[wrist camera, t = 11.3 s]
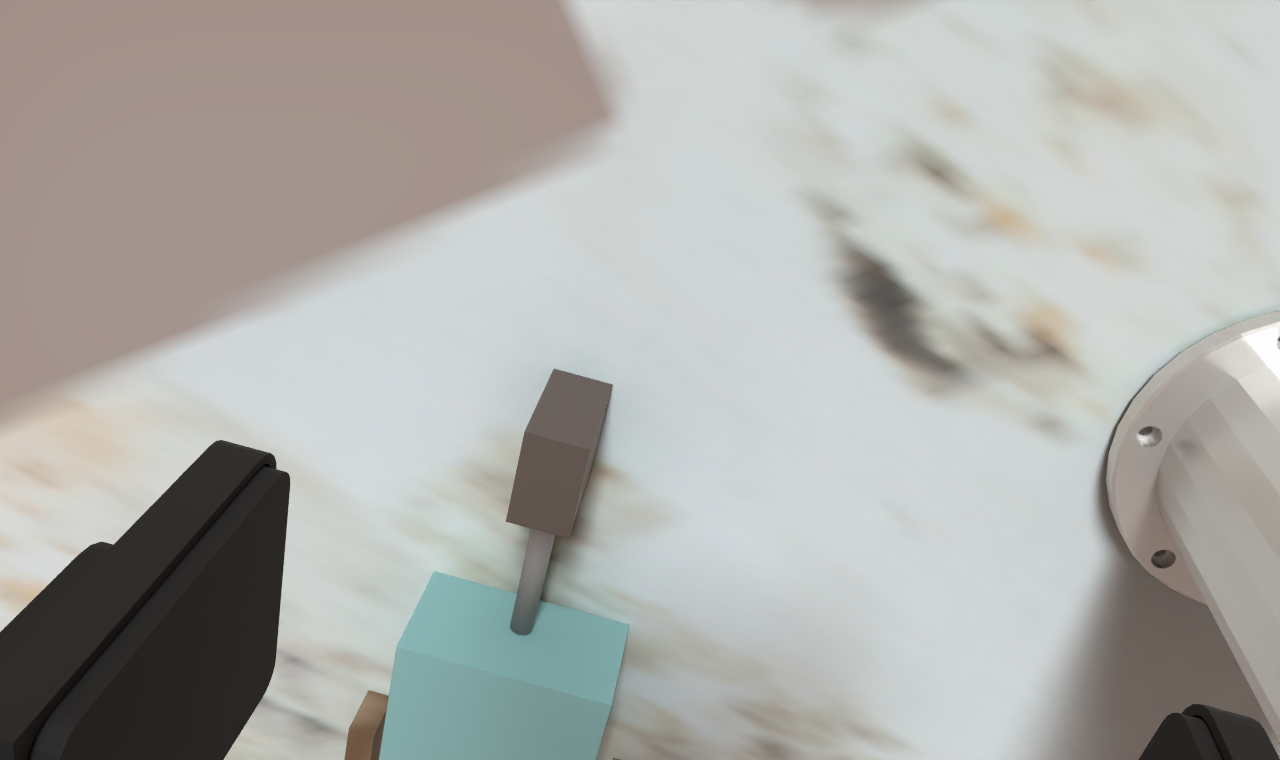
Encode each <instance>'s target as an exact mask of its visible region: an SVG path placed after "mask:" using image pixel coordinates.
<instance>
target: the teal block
mask: <svg viewBox="0 0 1280 760" xmlns="http://www.w3.org/2000/svg"><path fill="white" fill-rule="evenodd" d="M612 386H613V385H612V384H608V383H604V382H601V381H597V380H593V379H590V378H586V377H582V376H579V375H575V374H571V373H567V372H564V371H560V370H556V369H554V370H553V372H552V374H551V376H550V378H549V380H548V383H547V385H546V387H545V389H544V391H543V393H542V396H541V398H540V400H539V402H538V404H537V406H536V408H535V411H534V413H533V415H532V417H531V419H530V421H529V424H528V426H527V428H526V430H525V432H524V437H523V442H522V447H521V452H520V456H519V461H518V466H517V471H516V476H515V480H514V485H513V490H512V495H511V500H510V505H509V509H508V514H507V519H506V522H509V523H513V524H517V525H520V526H524V527H528V528H531V533H530V537H529V542H528V546H527V551H526V555H525V560H524V564H523V569H522V573H521V578H520V582H519V587H518V591H517V594H516V593H512V592H509V591H505V590H501V589H498V588H494V587H490V586H487V585H483V584H479V583H476V582H472V581H469V580H465V579H461V578H458V577H454V576H450V575H447V574H443V573H439V572H436V571H434V573H433V575H432V577H431V579H430V581H429V583H428V585H427V587H426V589H425V591H424V593H423V595H422V597H421V599H420V601H419V603H418V605H417V607H416V609H415V611H414V613H413V615H412V617H411V619H410V621H409V623H408V625H407V627H406V629H405V631H404V633H403V635H402V637H401V639H400V641H399V643H398V645H397V648H396V654H395V661H394V667H393V673H392V680H391V686H390V692H389V699H388V705H387V711H386V718H385V724H384V730H383V737H382V743H381V750H380V756H379V760H596V757H597V753H598V750H599V747H600V743H601V740H602V737H603V733H604V730H605V727H606V723H607V720H608V717H609V713H610V710H611V707H612V702H613V698H614V693H615V689H616V684H617V679H618V675H619V670H620V666H621V661H622V657H623V652H624V648H625V643H626V638H627V634H628V629H629V624H625V623H622V622H618V621H614V620H611V619H607V618H603V617H600V616H596V615H592V614H589V613H585V612H581V611H578V610H574V609H571V608H567V607H563V606H560V605H556V604H552V603H549V602H545V601H541V600H540V597H541V593H542V589H543V585H544V581H545V576H546V572H547V568H548V564H549V560H550V555H551V551H552V547H553V543H554V539H555V535H557V536H561V537H564V538H568V539H569V536H570V533H571V530H572V527H573V523H574V520H575V517H576V514H577V511H578V508H579V505H580V502H581V499H582V496H583V493H584V490H585V487H586V484H587V481H588V478H589V475H590V472H591V469H592V466H593V462H594V458H595V454H596V450H597V446H598V442H599V438H600V434H601V430H602V426H603V422H604V418H605V414H606V410H607V406H608V402H609V398H610V394H611V390H612Z"/></svg>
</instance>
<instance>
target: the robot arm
mask: <svg viewBox="0 0 1280 760" xmlns="http://www.w3.org/2000/svg"><path fill="white" fill-rule="evenodd" d="M1145 427H1147V428H1146V429H1143V428H1145ZM1141 429H1143V430H1141ZM1106 485H1107V492H1108V500H1109V507H1110V509H1111V512H1112V514H1113V517H1114V519H1115V522H1116V524H1117V527H1118V530H1119V532H1120V534H1121V535H1122V537H1123V539H1124V541H1125V543H1126V544H1127V546H1128V548H1129V550H1130V552H1131V554H1132V555H1133V556H1134V557H1135V558H1136V559H1137V561H1138V562H1139V563H1140V564H1141V565H1142V566H1143V568H1144V569H1145V570H1146V571H1147V572H1148V573H1150V574H1151V575H1152V576H1154V577H1155V578H1156V579H1158V580H1159V581H1161V582H1162V583H1163V584H1165V585H1166V586H1168V587H1169V588H1170V589H1172V590H1174V591H1176V592H1178V593H1180V594H1182V595H1184V596H1187V597H1189V598H1191V599H1193V600H1195V601H1197V602H1200V603H1203V604H1207V606H1208V608H1209V610H1210V612H1211V614H1212V616H1213V617H1214V619H1215V621H1216V623H1217V625H1218V627H1219V629H1220V631H1221V633H1222V635H1223V636H1224V638H1225V640H1226V642H1227V644H1228V646H1229V648H1230V650H1231V652H1232V654H1233V655H1234V657H1235V659H1236V661H1237V663H1238V665H1239V667H1240V669H1241V671H1242V673H1243V674H1244V676H1245V678H1246V680H1247V682H1248V684H1249V686H1250V688H1251V690H1252V692H1253V693H1254V695H1255V697H1256V699H1257V701H1258V703H1259V705H1260V707H1261V709H1262V711H1263V713H1264V714H1265V716H1266V718H1267V720H1268V722H1269V724H1270V726H1271V728H1272V730H1273V732H1274V733H1275V735H1276V737H1277V739H1278V741H1279V743H1280V311H1277V312H1273V313H1269V314H1264V315H1260V316H1256V317H1252V318H1249V319H1246V320H1244V321H1241V322H1239V323H1236V324H1234V325H1232V326H1229V327H1227V328H1224V329H1222V330H1219V331H1217V332H1214V333H1213V334H1211V335H1209V336H1208V337H1206V338H1204V339H1203V340H1201V341H1199V342H1197V343H1196V344H1194V345H1192V346H1191V347H1189V348H1187V349H1186V350H1184V351H1182V352H1181V353H1180V354H1179V355H1178V356H1176V357H1175V358H1174V359H1173V360H1172V361H1170V362H1169V363H1168V364H1167V365H1165V366H1164V367H1163V368H1162V369H1161V370H1159V371H1158V372H1157V373H1156V374H1155V375H1154V376H1153V377H1152V378H1151V380H1150V381H1149V382H1148V383H1147V384H1146V385H1145V386H1144V388H1143V389H1142V390H1141V391H1140V392H1139V393H1138V395H1137V396H1136V397H1135V398H1134V399H1133V401H1132V403H1131V404H1130V406H1129V408H1128V410H1127V411H1126V413H1125V415H1124V416H1123V418H1122V420H1121V422H1120V423H1119V425H1118V427H1117V430H1116V433H1115V436H1114V439H1113V442H1112V445H1111V448H1110V451H1109V455H1108V465H1107V475H1106ZM289 492H290V477H289V474H288V473H287V472H284V471H280V470H276V460H275V457H274V456H273V455H272V454H271V453H267V452H264V451H260V450H256V449H253V448H249V447H245V446H241V445H238V444H234V443H230V442H227V441H223V440H220V441H216V442H214V443H213V444H212V445H211V446H209V447H208V448H207V450H206V451H205V452H204V453H203V454H202V455H201V456H200V457H199V458H198V459H197V460H196V461H195V462H194V463H193V464H192V465H191V466H190V467H189V468H188V469H187V470H186V471H185V472H184V473H183V474H182V475H181V476H180V477H179V478H178V479H177V480H176V481H175V482H174V483H173V484H172V485H171V486H170V488H169V489H168V490H167V491H166V492H165V493H164V494H163V495H162V496H161V497H160V498H159V499H158V500H157V501H156V502H155V503H154V504H153V505H152V506H151V507H150V508H149V509H148V510H147V511H146V512H145V513H144V514H143V515H142V516H141V517H140V518H139V519H138V520H137V521H136V522H135V523H134V524H133V525H132V527H131V528H130V529H129V530H128V531H127V532H126V533H125V534H124V535H123V536H122V537H121V538H120V539H119V540H118V541H117V542H116V543H115V544H114V545H112V544H108V543H105V542H99V543H96V544H93V545H90V546H89V547H88V548H87V549H85V550H84V551H83V552H81V553H80V554H79V555H78V556H77V557H76V558H75V559H74V560H73V561H72V562H71V563H70V564H69V565H68V566H67V567H66V568H65V569H64V570H63V571H62V572H61V573H60V574H59V575H58V576H57V577H56V578H55V579H54V580H53V581H52V582H51V583H50V584H49V585H48V586H47V587H46V588H45V589H44V590H43V591H42V592H41V593H40V594H39V595H38V596H36V597H35V598H34V599H33V600H32V601H31V602H30V603H29V604H28V605H27V606H26V607H25V608H24V609H23V610H22V611H21V612H20V613H19V614H18V615H17V616H16V617H15V618H14V619H13V620H12V621H11V622H10V623H9V624H8V625H7V626H6V627H5V628H4V629H3V630H2V631H1V632H0V760H223V759H224V758H225V756H226V755H227V753H228V751H229V750H230V748H231V747H232V745H233V743H234V742H235V740H236V739H237V737H238V735H239V734H240V732H241V731H242V729H243V728H244V726H245V724H246V723H247V721H248V720H249V718H250V716H251V715H252V713H253V712H254V710H255V708H256V707H257V705H258V704H259V702H260V700H261V699H262V697H263V695H264V694H265V692H266V690H267V687H268V685H269V683H270V680H271V677H272V674H273V670H274V667H275V660H276V649H277V637H278V625H279V613H280V601H281V589H282V577H283V565H284V552H285V540H286V528H287V516H288V504H289ZM1139 760H1280V759H1279V757H1278V755H1277V753H1276V751H1275V749H1274V747H1273V745H1272V743H1271V741H1270V739H1269V738H1268V736H1267V734H1266V732H1265V730H1264V729H1263V727H1262V726H1261V725H1260V723H1259V722H1257V721H1256V720H1254V719H1252V718H1250V717H1246V716H1242V715H1238V714H1235V713H1231V712H1227V711H1224V710H1220V709H1216V708H1213V707H1209V706H1205V705H1201V704H1193V705H1191V706H1190V707H1188V708H1186V709H1185V710H1184V712H1183V713H1182V714H1180V713H1172V714H1170V715H1168V716H1167V717H1166V718H1165V720H1164V721H1163V722H1162V724H1161V725H1160V727H1159V728H1158V730H1157V731H1156V733H1155V735H1154V736H1153V738H1152V739H1151V741H1150V742H1149V744H1148V746H1147V747H1146V749H1145V750H1144V752H1143V753H1142V755H1141V756H1140V758H1139Z"/></svg>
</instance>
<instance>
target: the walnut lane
mask: <svg viewBox="0 0 1280 760" xmlns="http://www.w3.org/2000/svg"><path fill="white" fill-rule="evenodd" d="M388 699H389V696H386V695H382V694H379V693H375V692H372V691H368V693H367V695H366V696H365V698H364V700H363V702H362V704H361V706H360V708H359V710H358V712H357V714H356V716H355V718H354V720H353V722H352V724H351V726H350V728H349V732H348V739H347V747H346V754H345V760H379V756H380V750H381V743H382V737H383V730H384V724H385V718H386V711H387V705H388ZM613 760H618V759H615V758H613Z"/></svg>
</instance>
